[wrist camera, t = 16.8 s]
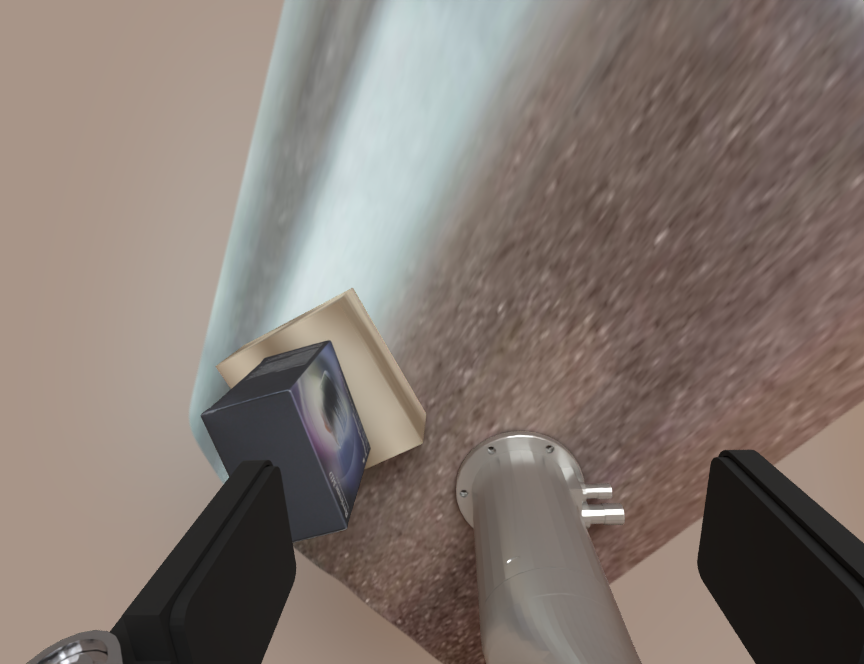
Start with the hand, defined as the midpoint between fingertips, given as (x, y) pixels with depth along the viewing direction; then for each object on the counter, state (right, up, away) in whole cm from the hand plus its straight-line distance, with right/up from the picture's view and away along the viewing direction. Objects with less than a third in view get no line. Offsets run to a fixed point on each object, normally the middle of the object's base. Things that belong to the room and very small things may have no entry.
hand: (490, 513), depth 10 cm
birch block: (-10, 0, +35) cm, 37 cm away
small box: (-11, -2, +29) cm, 31 cm away
